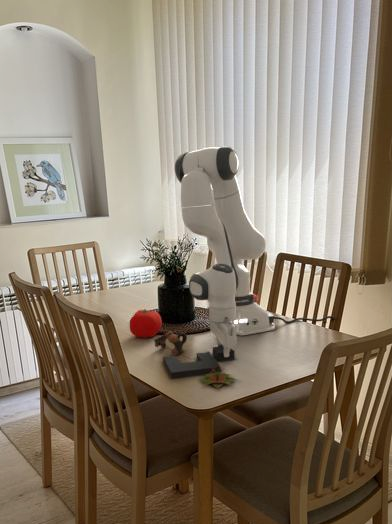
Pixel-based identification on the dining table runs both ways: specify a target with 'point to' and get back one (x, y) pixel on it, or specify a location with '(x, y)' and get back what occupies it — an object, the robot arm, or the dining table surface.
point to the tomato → (145, 323)
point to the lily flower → (217, 378)
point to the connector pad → (219, 354)
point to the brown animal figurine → (172, 341)
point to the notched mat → (191, 366)
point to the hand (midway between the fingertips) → (222, 352)
